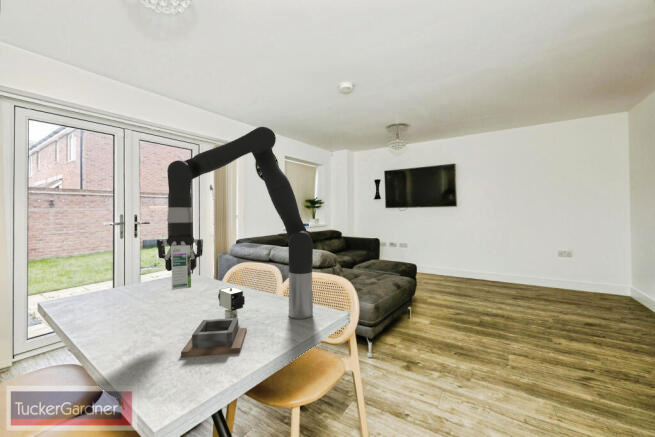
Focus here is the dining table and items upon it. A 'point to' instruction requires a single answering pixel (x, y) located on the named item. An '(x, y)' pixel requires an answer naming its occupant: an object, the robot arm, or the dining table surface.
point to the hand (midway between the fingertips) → (181, 270)
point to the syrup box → (181, 266)
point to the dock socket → (215, 338)
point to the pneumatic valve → (231, 301)
